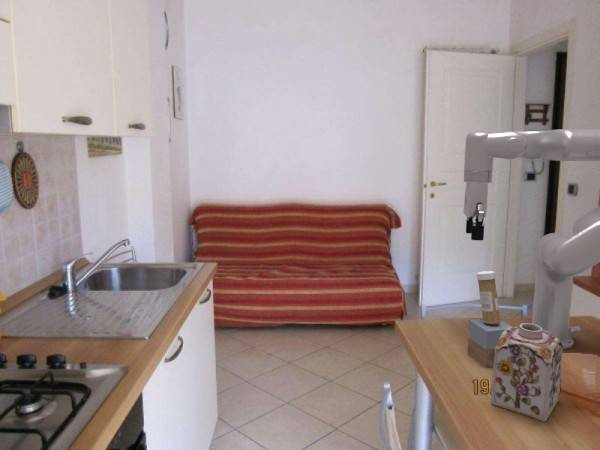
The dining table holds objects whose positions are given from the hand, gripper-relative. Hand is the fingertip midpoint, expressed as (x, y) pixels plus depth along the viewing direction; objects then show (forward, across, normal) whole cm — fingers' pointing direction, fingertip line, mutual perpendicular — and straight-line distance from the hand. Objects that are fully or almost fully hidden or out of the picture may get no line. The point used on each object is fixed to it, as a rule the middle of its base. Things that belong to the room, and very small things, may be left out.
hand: (474, 236), depth 142 cm
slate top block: (+26, +15, +3) cm, 30 cm away
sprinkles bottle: (+20, +15, +3) cm, 25 cm away
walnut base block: (+31, +15, +3) cm, 34 cm away
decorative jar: (+31, +36, +7) cm, 48 cm away
